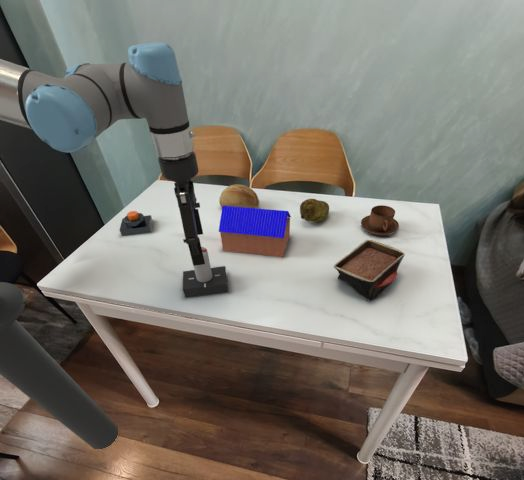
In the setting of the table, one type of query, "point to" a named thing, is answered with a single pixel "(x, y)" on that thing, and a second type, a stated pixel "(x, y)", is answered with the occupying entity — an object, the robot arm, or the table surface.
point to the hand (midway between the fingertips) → (198, 248)
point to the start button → (133, 215)
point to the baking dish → (370, 268)
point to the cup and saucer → (380, 221)
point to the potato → (314, 210)
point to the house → (254, 230)
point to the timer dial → (203, 268)
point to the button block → (136, 225)
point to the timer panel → (205, 283)
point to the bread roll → (239, 197)
